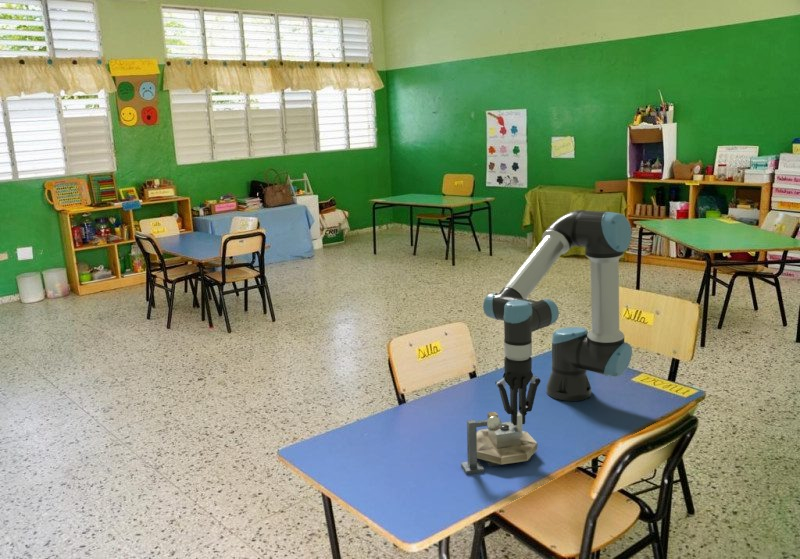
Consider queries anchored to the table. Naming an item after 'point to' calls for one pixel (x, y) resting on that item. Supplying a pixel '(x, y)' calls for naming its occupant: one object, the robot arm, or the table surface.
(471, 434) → the dial post
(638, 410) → the table surface
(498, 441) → the cover
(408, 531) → the table surface
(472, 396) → the table surface
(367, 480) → the table surface
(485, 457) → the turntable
